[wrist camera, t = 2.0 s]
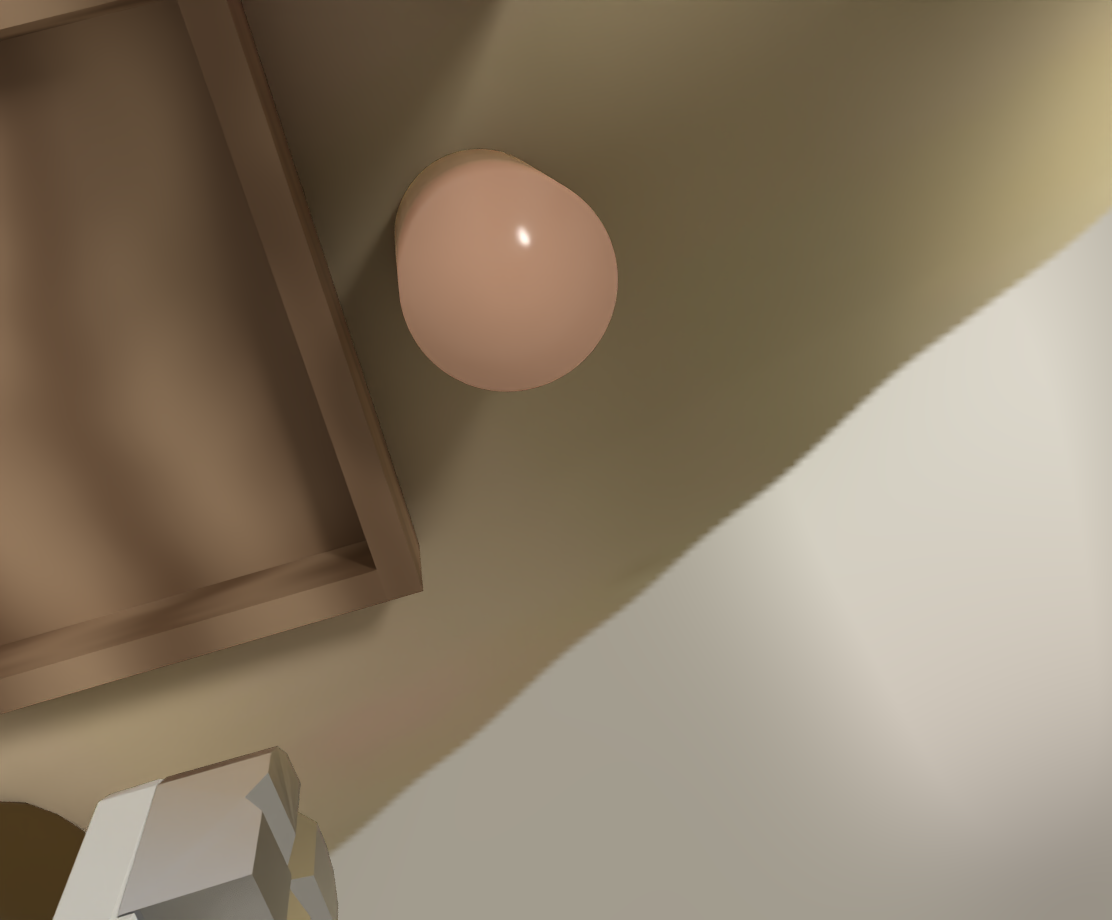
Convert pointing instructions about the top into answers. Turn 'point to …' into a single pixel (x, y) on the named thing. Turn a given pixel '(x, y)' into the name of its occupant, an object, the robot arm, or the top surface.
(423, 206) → the peach rounded capsule
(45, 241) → the tray
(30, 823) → the kendama
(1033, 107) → the top surface
